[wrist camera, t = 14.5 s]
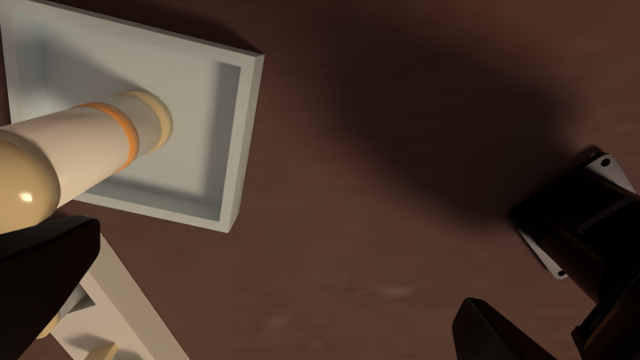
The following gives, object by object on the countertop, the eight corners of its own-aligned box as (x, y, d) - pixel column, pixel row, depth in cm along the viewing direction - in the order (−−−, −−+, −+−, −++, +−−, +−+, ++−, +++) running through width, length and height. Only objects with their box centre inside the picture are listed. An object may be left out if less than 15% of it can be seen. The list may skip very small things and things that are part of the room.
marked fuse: (180, 145, 20) (50, 236, 11) (125, 152, 20) (-48, 247, 11) (162, 85, 19) (-2, 131, 9) (104, 93, 19) (-112, 146, 10)
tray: (264, 54, 19) (255, 57, 16) (238, 213, 22) (228, 232, 20) (39, -2, 18) (-4, -8, 16) (51, 171, 22) (18, 187, 19)
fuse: (106, 271, 24) (58, 320, 20) (88, 294, 25) (39, 345, 21) (71, 249, 23) (13, 294, 19) (54, 273, 24) (-4, 321, 20)
